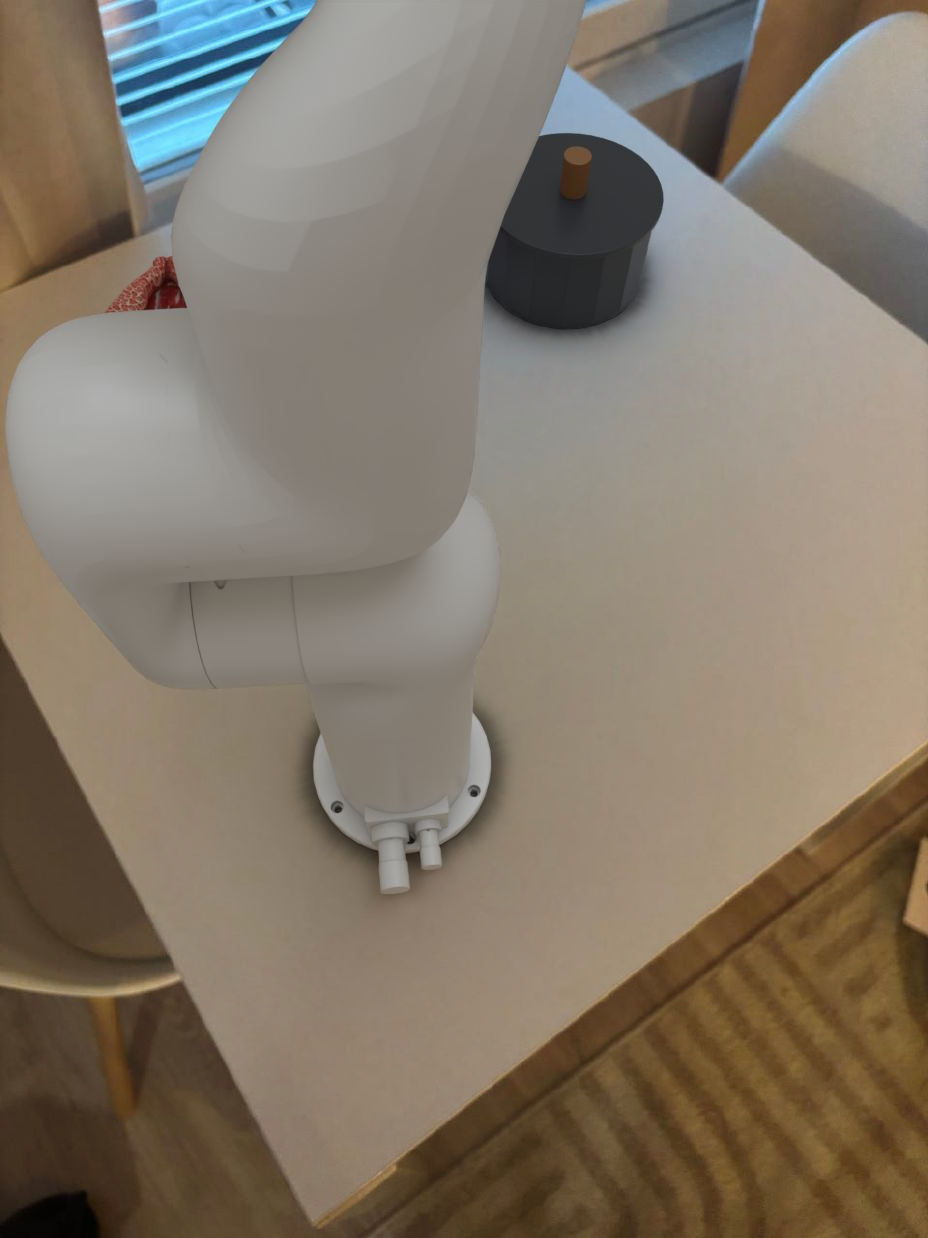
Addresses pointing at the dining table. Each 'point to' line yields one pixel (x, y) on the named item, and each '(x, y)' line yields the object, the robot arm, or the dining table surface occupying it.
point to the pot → (563, 284)
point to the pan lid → (583, 198)
